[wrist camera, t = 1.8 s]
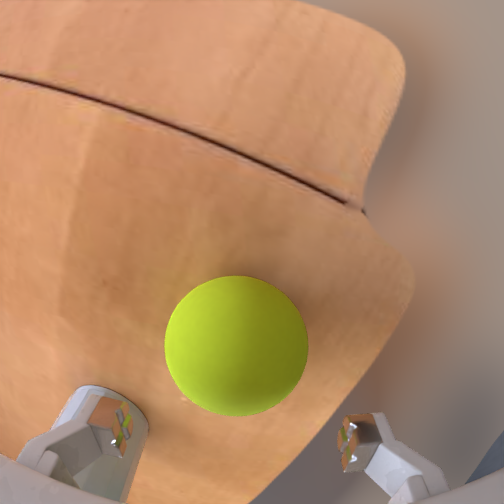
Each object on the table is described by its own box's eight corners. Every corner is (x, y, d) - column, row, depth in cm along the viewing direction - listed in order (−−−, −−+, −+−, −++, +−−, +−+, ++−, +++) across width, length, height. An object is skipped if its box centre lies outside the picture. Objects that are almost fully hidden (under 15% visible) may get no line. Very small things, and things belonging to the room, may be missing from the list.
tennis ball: (180, 251, 16) (137, 312, 10) (306, 260, 16) (334, 327, 10) (183, 354, 18) (157, 434, 12) (291, 361, 18) (302, 446, 12)
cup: (63, 376, 20) (8, 457, 11) (142, 394, 20) (101, 497, 11) (84, 430, 22) (48, 505, 13) (154, 448, 22) (129, 534, 13)
